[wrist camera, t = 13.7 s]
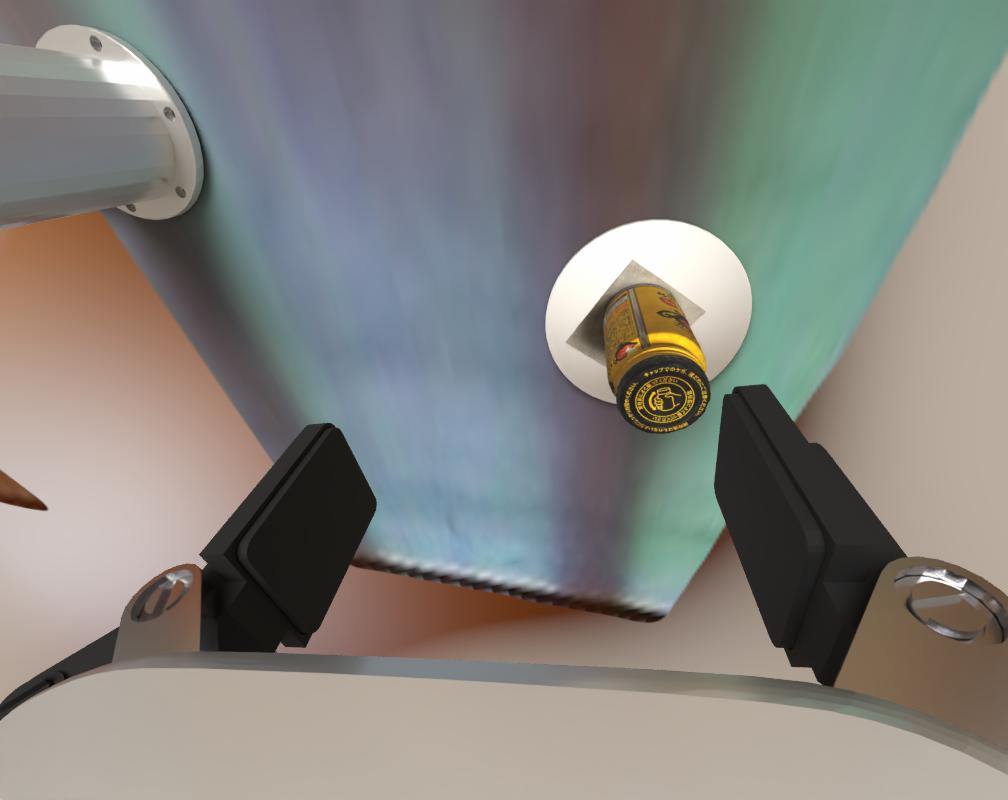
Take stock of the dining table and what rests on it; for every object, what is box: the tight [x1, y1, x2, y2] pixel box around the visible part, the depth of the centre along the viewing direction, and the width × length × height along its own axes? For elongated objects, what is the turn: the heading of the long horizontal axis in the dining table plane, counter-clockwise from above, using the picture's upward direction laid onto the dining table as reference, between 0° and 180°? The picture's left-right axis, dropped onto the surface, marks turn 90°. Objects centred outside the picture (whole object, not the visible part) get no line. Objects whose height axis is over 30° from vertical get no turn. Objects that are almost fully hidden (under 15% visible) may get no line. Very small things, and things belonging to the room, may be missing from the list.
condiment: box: [566, 259, 711, 434], centre depth 30 cm, size 7×8×12 cm
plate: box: [546, 219, 752, 404], centre depth 35 cm, size 16×16×1 cm
